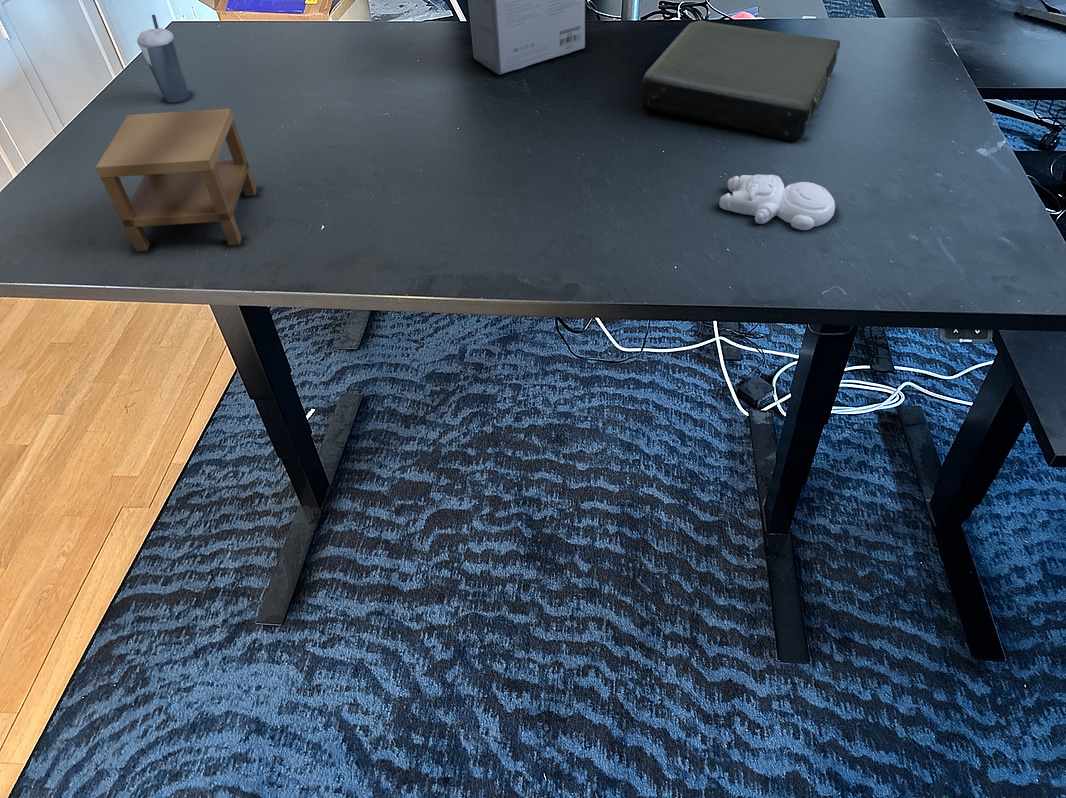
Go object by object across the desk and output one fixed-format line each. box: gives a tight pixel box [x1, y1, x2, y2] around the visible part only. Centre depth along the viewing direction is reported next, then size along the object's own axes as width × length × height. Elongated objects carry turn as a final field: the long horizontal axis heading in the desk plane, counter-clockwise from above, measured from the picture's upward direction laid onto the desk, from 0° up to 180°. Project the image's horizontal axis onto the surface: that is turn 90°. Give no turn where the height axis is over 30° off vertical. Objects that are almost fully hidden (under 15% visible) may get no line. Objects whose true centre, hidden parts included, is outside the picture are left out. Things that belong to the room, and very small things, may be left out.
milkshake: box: [136, 14, 190, 104], centre depth 104 cm, size 4×5×10 cm
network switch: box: [640, 19, 841, 142], centre depth 102 cm, size 23×23×5 cm
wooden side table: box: [95, 108, 257, 253], centre depth 83 cm, size 11×11×10 cm
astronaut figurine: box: [718, 173, 836, 231], centre depth 84 cm, size 9×12×3 cm
